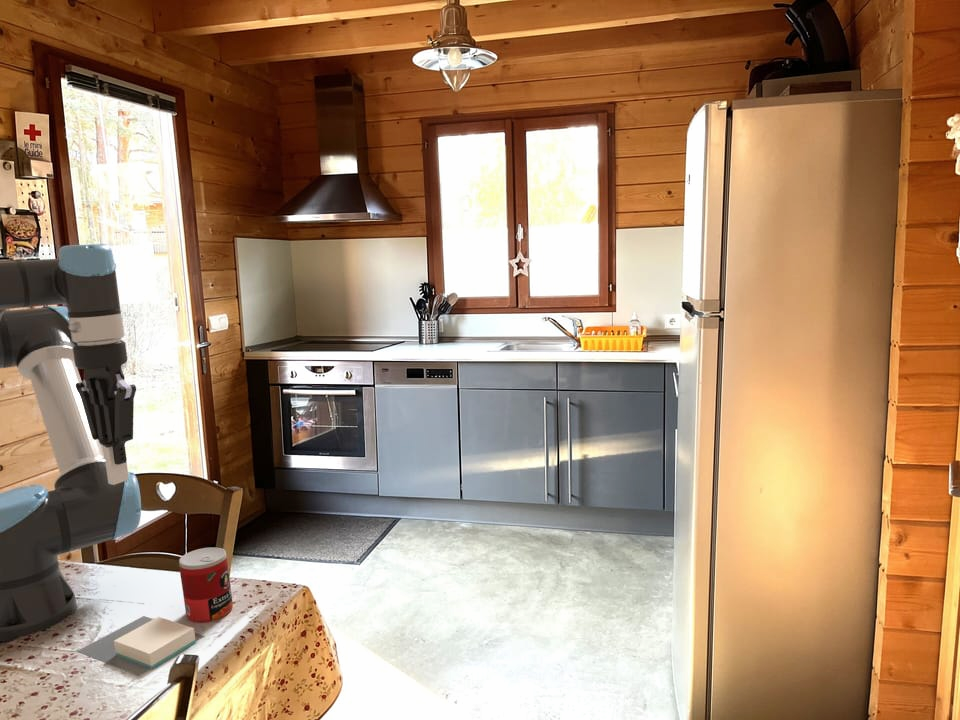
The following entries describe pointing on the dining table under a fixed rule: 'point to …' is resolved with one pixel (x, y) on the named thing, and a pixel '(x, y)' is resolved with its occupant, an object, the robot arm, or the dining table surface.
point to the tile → (154, 642)
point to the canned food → (206, 584)
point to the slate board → (106, 648)
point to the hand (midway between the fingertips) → (118, 481)
